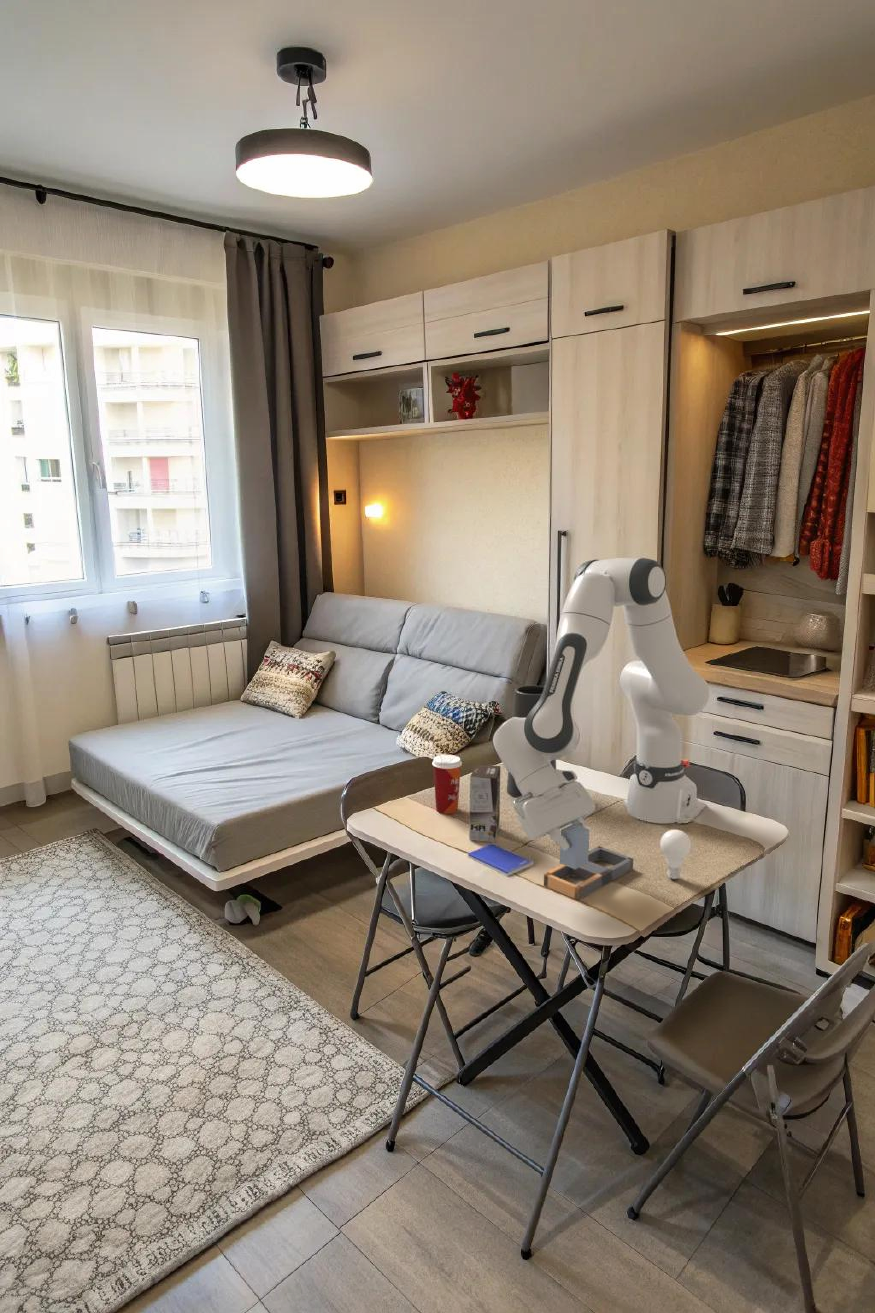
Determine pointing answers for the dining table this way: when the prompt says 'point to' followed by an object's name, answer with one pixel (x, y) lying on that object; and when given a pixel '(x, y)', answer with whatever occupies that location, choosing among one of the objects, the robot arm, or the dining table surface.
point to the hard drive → (500, 859)
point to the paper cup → (447, 783)
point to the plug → (575, 846)
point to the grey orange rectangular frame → (588, 873)
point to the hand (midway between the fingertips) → (577, 844)
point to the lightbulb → (675, 851)
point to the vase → (522, 706)
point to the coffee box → (484, 803)
